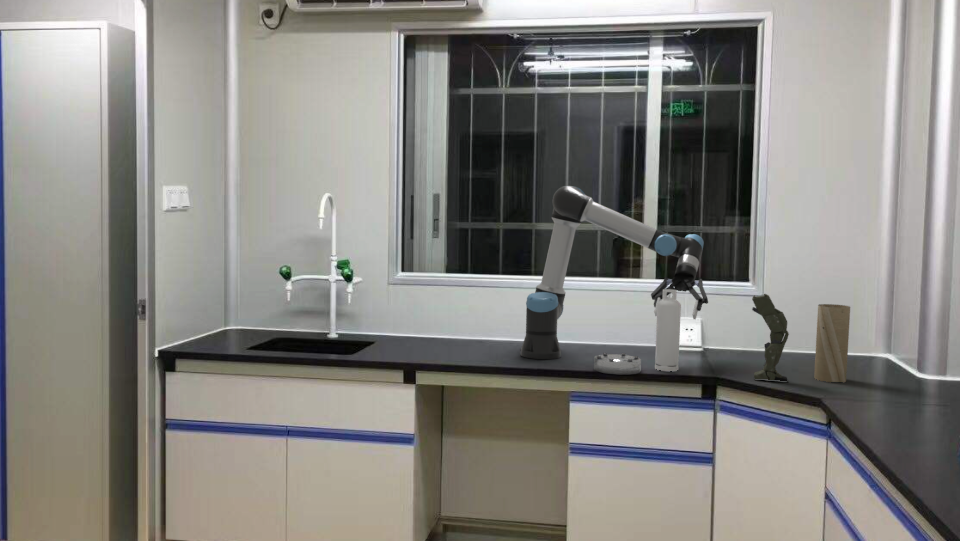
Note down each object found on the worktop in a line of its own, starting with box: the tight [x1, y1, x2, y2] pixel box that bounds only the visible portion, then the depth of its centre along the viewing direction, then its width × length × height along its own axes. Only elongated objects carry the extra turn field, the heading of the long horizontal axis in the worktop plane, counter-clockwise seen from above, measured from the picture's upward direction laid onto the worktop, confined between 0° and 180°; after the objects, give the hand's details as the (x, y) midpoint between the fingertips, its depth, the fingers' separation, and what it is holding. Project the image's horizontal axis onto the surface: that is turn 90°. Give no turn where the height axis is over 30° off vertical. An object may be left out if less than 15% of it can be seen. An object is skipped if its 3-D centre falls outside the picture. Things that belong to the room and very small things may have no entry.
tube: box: [813, 303, 851, 383], centre depth 281 cm, size 10×10×25 cm
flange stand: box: [593, 352, 642, 376], centre depth 291 cm, size 16×16×5 cm
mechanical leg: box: [751, 293, 790, 381], centre depth 278 cm, size 14×7×30 cm, turn 71°
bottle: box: [654, 288, 682, 372], centre depth 293 cm, size 8×8×28 cm
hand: (674, 315), depth 295 cm, fingers open, 13 cm apart
